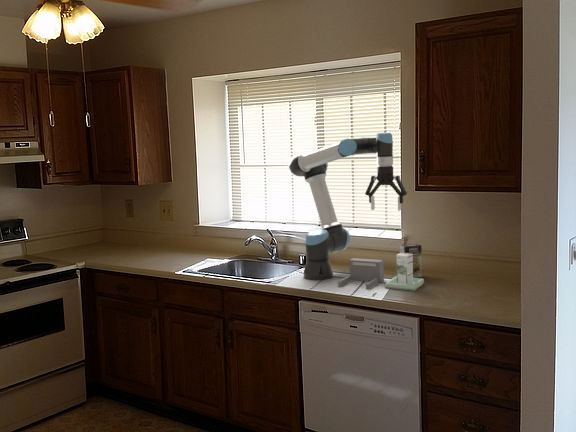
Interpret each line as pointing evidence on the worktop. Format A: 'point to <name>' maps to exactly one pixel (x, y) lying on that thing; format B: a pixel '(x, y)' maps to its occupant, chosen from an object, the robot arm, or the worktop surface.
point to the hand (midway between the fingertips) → (386, 210)
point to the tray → (393, 284)
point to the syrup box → (404, 268)
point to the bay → (365, 271)
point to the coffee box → (414, 257)
